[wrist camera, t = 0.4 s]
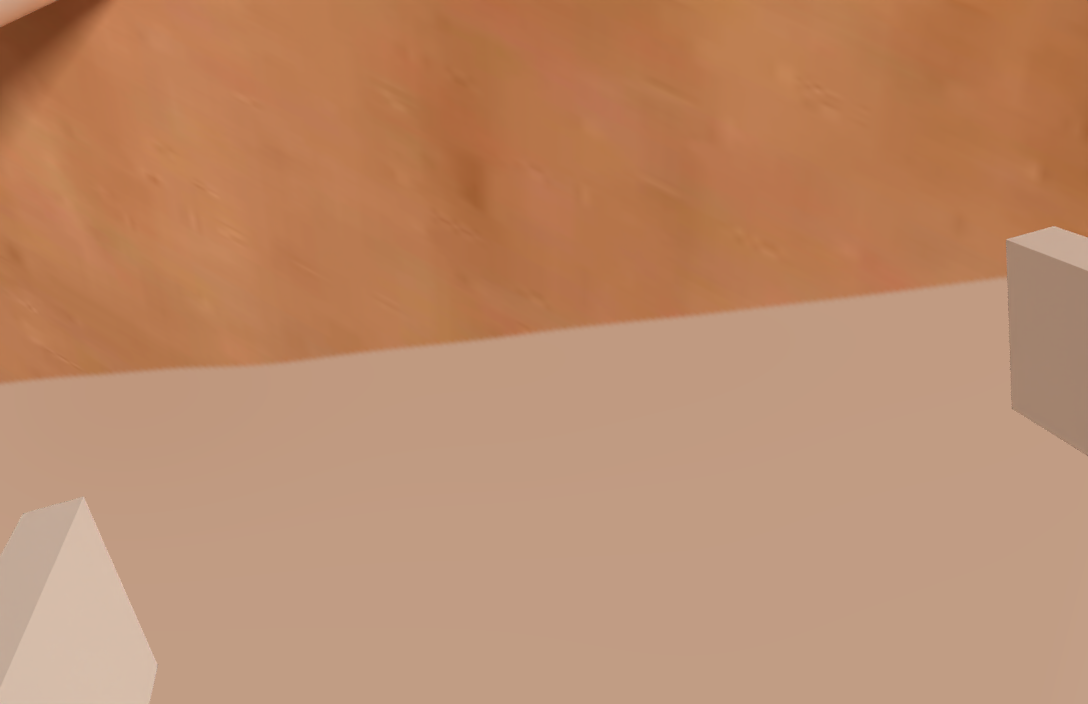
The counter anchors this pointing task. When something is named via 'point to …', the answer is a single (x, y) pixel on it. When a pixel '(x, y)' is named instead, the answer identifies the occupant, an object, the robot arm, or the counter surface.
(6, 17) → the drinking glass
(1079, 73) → the counter surface
